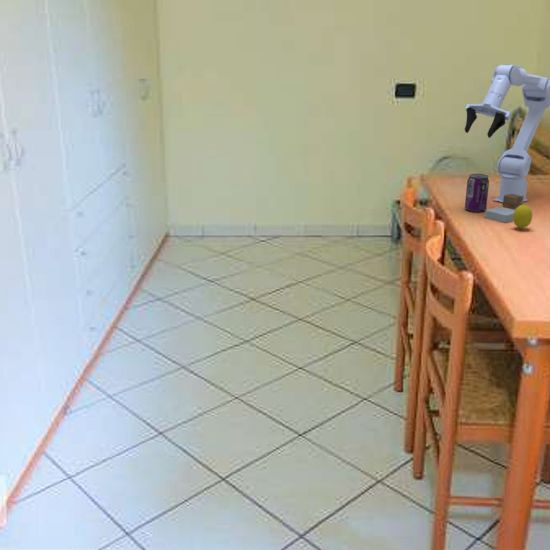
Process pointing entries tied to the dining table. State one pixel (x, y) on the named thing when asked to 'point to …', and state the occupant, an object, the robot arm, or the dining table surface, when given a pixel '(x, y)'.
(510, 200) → the walnut block
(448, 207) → the dining table surface
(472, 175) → the beverage can
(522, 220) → the lemon
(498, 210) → the grey base
